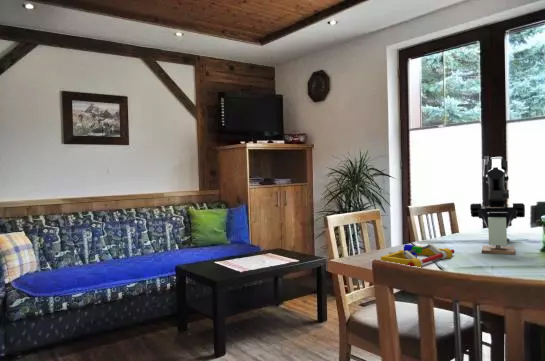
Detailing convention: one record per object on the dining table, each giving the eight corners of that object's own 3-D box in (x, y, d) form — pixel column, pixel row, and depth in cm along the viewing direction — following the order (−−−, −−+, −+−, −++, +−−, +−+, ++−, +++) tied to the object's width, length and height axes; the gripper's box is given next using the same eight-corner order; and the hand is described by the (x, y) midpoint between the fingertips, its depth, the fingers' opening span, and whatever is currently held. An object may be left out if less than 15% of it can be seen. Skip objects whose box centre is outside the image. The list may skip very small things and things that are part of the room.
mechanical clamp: (457, 240, 157) (414, 253, 138) (457, 256, 157) (415, 272, 138) (412, 236, 171) (367, 247, 151) (413, 251, 171) (368, 265, 151)
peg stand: (483, 247, 169) (482, 235, 169) (514, 249, 164) (514, 236, 164) (481, 253, 159) (481, 239, 159) (515, 254, 154) (514, 240, 154)
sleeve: (489, 242, 165) (488, 217, 165) (507, 243, 162) (506, 217, 162) (489, 244, 161) (488, 218, 161) (507, 245, 158) (505, 218, 158)
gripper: (469, 183, 169) (468, 214, 160) (523, 182, 160) (525, 214, 151) (471, 201, 176) (470, 231, 167) (523, 200, 167) (525, 232, 158)
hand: (497, 227), depth 160 cm, fingers closed on sleeve, 6 cm apart
